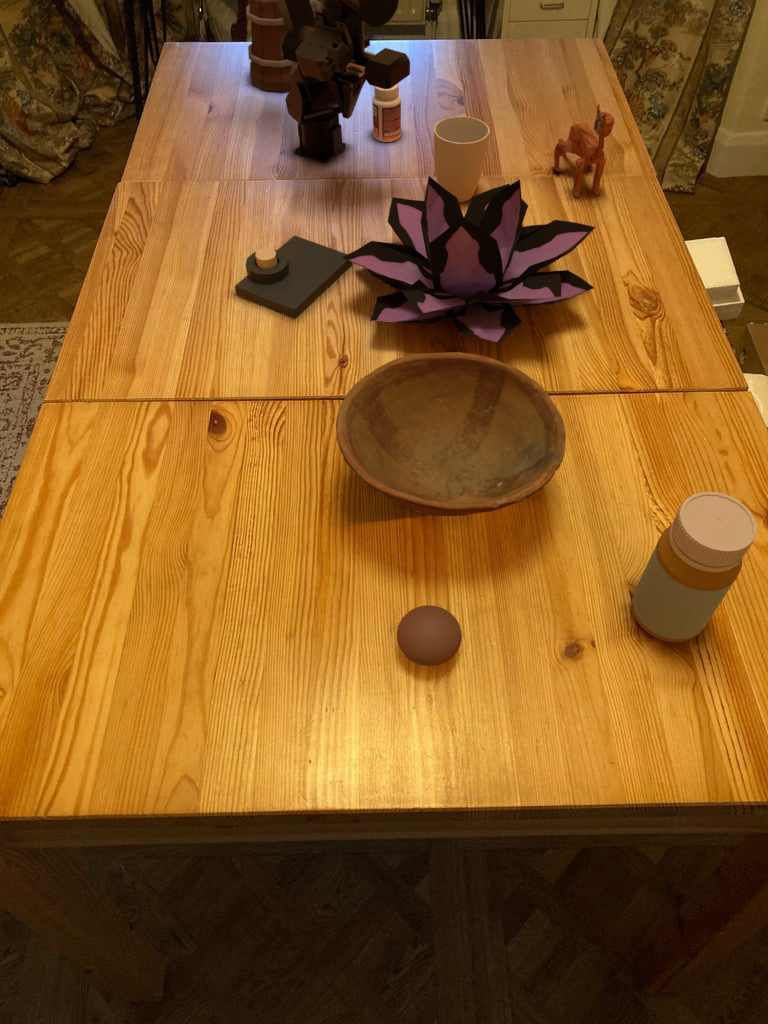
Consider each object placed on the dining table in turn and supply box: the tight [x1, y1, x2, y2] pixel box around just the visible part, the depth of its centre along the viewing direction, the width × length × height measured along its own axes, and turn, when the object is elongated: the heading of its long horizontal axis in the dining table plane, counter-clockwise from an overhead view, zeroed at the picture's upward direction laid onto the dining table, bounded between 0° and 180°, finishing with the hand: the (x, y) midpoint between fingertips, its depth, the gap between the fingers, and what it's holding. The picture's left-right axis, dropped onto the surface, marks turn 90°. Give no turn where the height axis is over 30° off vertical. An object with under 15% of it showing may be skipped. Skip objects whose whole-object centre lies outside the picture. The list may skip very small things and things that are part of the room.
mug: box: [245, 0, 322, 93], centre depth 140 cm, size 16×12×15 cm
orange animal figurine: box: [553, 103, 615, 198], centre depth 118 cm, size 18×7×14 cm, turn 9°
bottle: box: [630, 491, 758, 643], centre depth 68 cm, size 7×7×15 cm
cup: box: [433, 115, 490, 203], centre depth 116 cm, size 8×8×10 cm
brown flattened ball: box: [396, 604, 463, 667], centre depth 71 cm, size 6×6×4 cm
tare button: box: [255, 247, 277, 269], centre depth 105 cm, size 3×3×2 cm
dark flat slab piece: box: [234, 235, 353, 319], centre depth 106 cm, size 11×14×3 cm
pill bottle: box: [372, 83, 402, 143], centre depth 128 cm, size 5×5×8 cm
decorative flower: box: [342, 175, 596, 344], centre depth 99 cm, size 32×32×15 cm
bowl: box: [335, 351, 567, 517], centre depth 80 cm, size 22×23×10 cm
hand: (347, 117), depth 115 cm, fingers closed
